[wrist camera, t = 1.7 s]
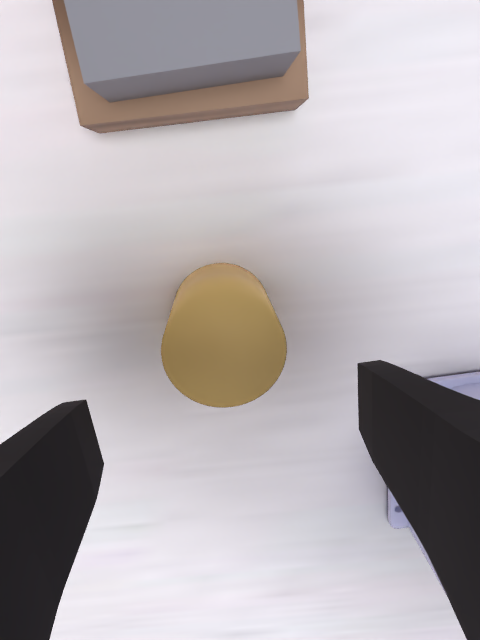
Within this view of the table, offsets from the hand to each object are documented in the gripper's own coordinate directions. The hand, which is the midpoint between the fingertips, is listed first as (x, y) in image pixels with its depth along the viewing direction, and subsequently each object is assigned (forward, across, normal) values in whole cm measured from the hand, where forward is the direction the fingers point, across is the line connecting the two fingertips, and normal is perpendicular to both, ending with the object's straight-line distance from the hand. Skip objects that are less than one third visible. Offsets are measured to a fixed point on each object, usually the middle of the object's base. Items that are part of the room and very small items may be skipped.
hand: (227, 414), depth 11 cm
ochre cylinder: (+9, 0, 0) cm, 9 cm away
